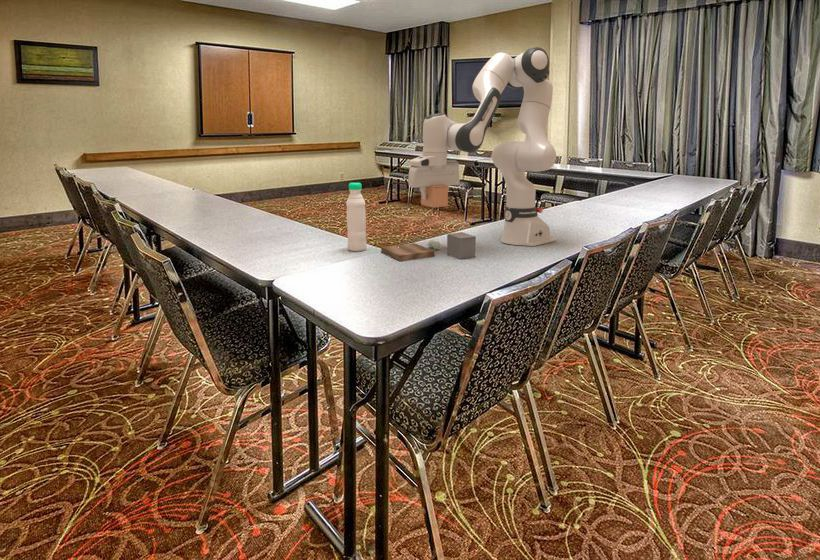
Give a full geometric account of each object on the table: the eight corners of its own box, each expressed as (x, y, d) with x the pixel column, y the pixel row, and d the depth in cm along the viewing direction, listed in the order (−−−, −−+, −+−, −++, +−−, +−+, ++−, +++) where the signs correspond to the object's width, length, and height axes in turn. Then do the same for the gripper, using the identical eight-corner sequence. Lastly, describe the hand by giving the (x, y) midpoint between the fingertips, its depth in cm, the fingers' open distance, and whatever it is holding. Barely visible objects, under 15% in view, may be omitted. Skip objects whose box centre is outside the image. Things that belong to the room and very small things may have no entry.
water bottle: (363, 252, 192) (361, 184, 185) (345, 251, 194) (342, 183, 187) (368, 248, 199) (367, 182, 192) (351, 247, 200) (348, 181, 193)
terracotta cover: (435, 203, 198) (435, 183, 195) (447, 206, 190) (448, 185, 188) (421, 204, 195) (421, 184, 192) (432, 207, 187) (432, 186, 185)
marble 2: (437, 250, 198) (437, 243, 198) (441, 249, 195) (442, 241, 196) (430, 249, 196) (431, 241, 197) (435, 247, 194) (436, 240, 194)
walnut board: (414, 248, 198) (414, 243, 198) (434, 256, 186) (434, 251, 185) (381, 252, 192) (381, 247, 191) (399, 261, 179) (399, 255, 179)
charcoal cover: (461, 252, 192) (462, 232, 190) (475, 257, 184) (475, 236, 182) (447, 254, 189) (447, 233, 187) (460, 259, 182) (460, 238, 179)
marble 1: (432, 248, 201) (433, 240, 201) (436, 248, 198) (437, 240, 198) (426, 247, 199) (427, 239, 199) (430, 246, 197) (431, 239, 197)
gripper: (454, 159, 195) (453, 195, 199) (406, 160, 186) (406, 199, 190) (463, 159, 190) (462, 197, 194) (414, 161, 180) (414, 201, 184)
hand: (434, 198), depth 192 cm, fingers closed on terracotta cover, 6 cm apart
